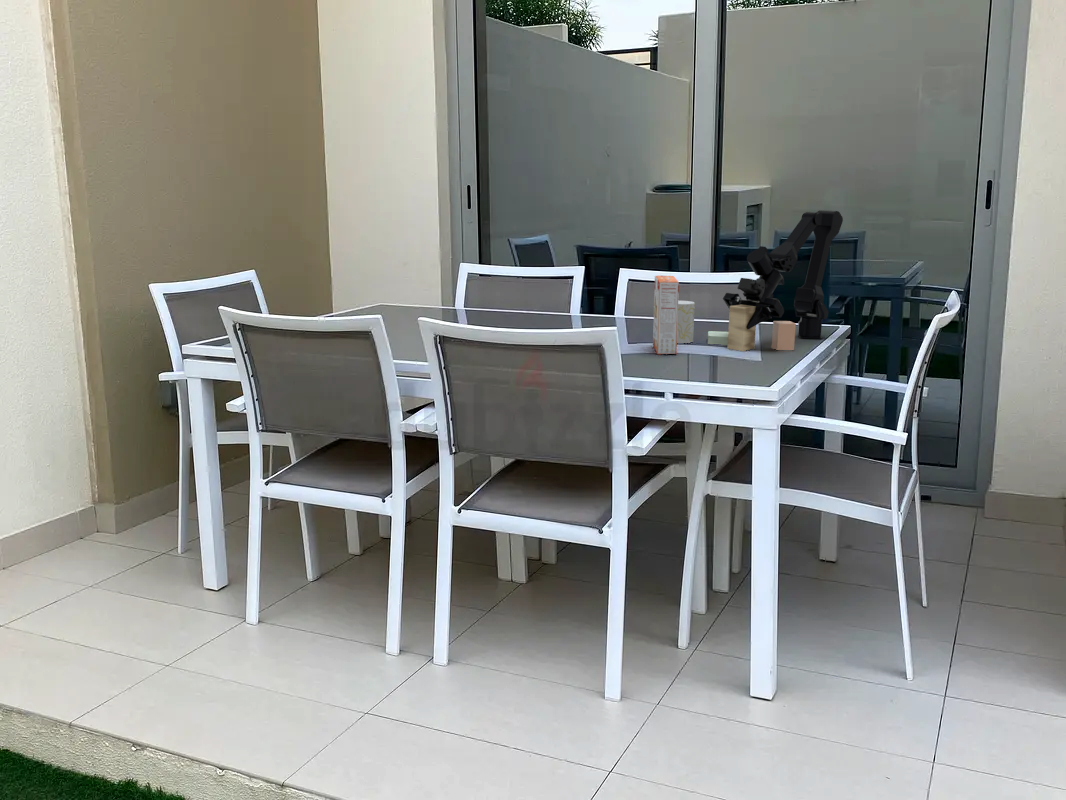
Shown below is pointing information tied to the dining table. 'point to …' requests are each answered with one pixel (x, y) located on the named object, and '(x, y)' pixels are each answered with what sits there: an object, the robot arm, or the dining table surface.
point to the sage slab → (717, 337)
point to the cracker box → (665, 314)
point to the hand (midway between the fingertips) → (739, 326)
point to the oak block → (741, 328)
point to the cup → (685, 321)
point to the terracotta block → (783, 335)
